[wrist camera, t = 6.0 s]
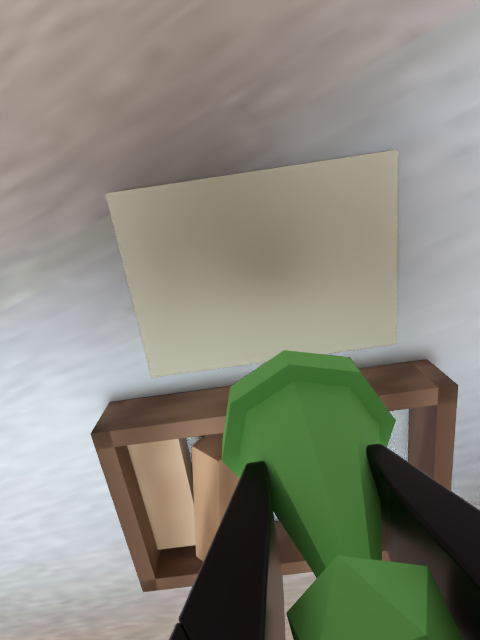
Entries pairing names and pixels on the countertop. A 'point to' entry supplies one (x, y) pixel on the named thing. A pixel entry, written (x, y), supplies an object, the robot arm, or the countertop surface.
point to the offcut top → (210, 489)
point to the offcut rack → (209, 418)
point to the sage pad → (262, 262)
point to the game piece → (331, 497)
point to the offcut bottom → (166, 490)
